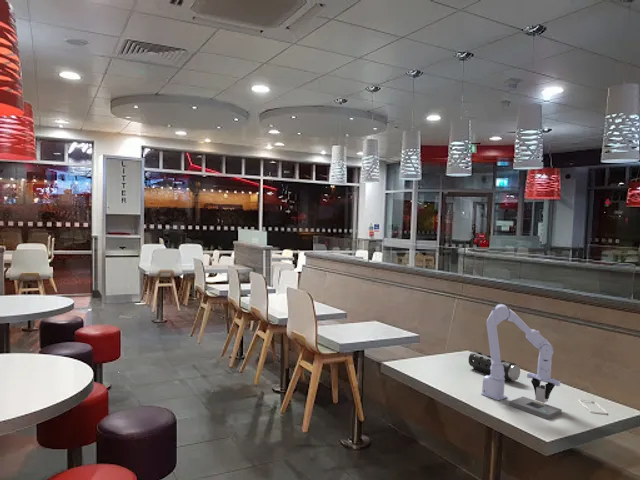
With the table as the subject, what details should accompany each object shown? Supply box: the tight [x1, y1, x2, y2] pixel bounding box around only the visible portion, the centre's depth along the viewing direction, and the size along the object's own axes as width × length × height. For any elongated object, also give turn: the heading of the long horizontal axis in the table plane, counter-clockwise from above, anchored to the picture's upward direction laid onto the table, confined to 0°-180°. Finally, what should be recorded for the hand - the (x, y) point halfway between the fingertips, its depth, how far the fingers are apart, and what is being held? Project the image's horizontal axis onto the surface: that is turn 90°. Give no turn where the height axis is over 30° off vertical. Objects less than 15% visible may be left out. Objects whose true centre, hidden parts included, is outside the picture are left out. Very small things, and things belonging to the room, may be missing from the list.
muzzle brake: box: [468, 350, 521, 382], centre depth 263 cm, size 10×28×10 cm, turn 30°
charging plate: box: [508, 396, 563, 420], centre depth 215 cm, size 18×12×2 cm, turn 38°
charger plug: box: [534, 384, 549, 404], centre depth 223 cm, size 4×4×7 cm
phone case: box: [578, 399, 608, 415], centre depth 222 cm, size 7×1×15 cm
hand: (541, 396), depth 223 cm, fingers closed on charger plug, 4 cm apart
